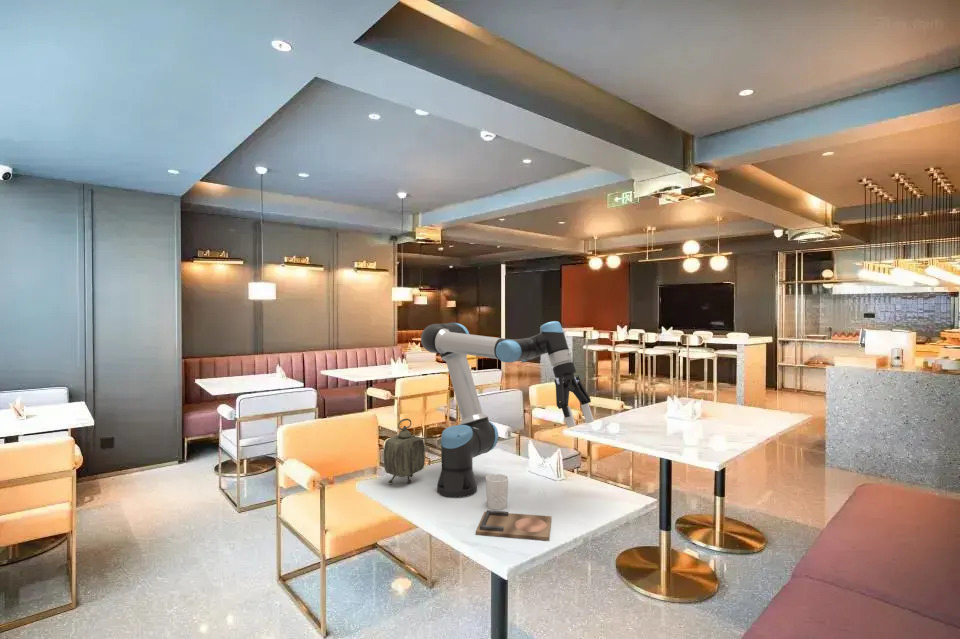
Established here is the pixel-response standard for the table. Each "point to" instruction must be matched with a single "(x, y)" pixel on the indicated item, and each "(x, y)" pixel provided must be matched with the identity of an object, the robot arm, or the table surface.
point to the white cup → (496, 491)
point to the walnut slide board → (514, 525)
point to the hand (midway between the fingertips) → (581, 424)
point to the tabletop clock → (404, 454)
